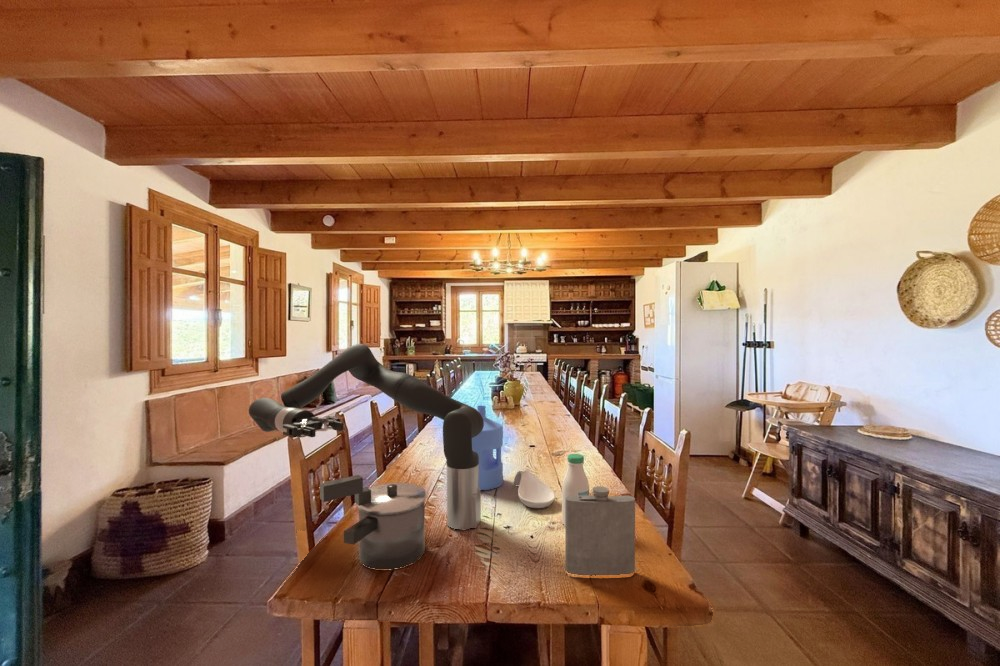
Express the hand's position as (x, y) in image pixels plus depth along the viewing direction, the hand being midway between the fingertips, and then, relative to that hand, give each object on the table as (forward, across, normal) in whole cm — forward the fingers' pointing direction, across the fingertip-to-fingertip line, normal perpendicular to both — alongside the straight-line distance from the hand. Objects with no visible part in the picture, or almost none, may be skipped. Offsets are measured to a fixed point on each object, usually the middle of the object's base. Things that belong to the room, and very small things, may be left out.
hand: (328, 430), depth 113 cm
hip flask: (+63, +28, +30) cm, 75 cm away
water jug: (+5, +58, +30) cm, 65 cm away
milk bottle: (+48, +48, +30) cm, 74 cm away
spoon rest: (+26, +57, +30) cm, 70 cm away
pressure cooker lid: (+16, +2, +17) cm, 23 cm away
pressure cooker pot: (+18, +3, +30) cm, 35 cm away
